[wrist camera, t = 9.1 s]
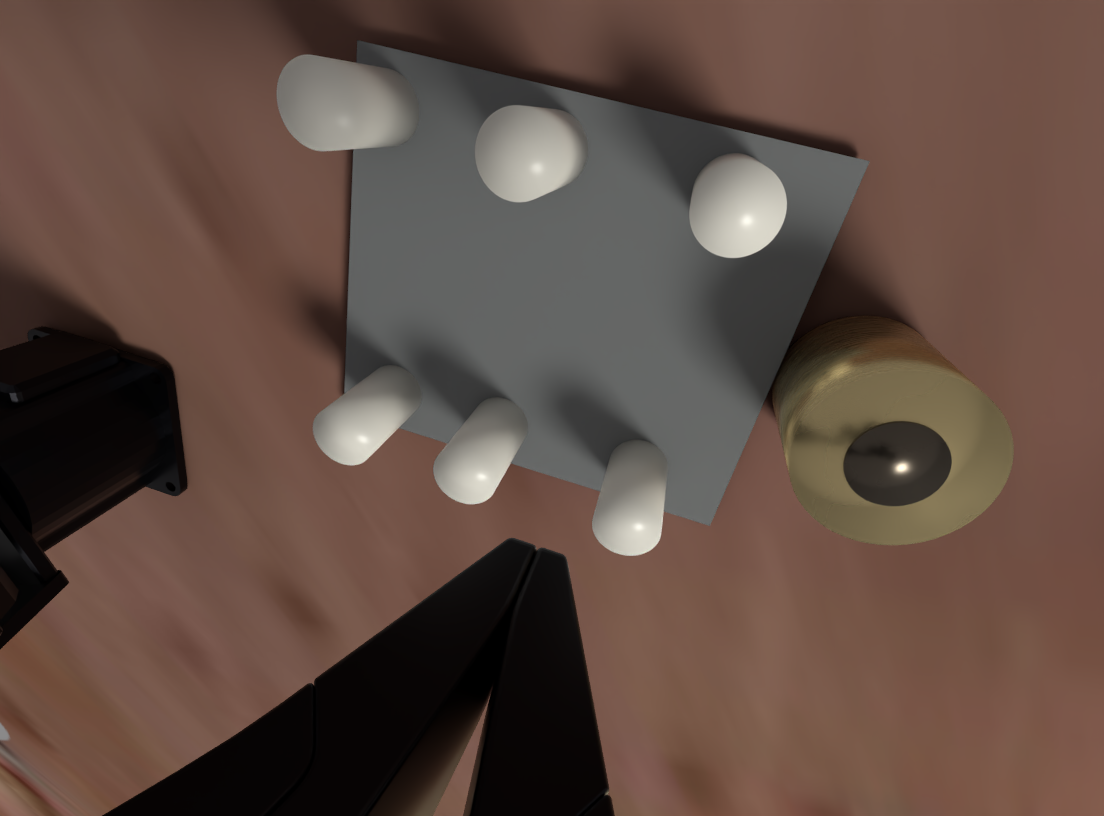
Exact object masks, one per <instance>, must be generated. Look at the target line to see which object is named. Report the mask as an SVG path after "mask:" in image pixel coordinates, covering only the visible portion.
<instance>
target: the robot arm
mask: <svg viewBox="0 0 1104 816" xmlns="http://www.w3.org/2000/svg"><path fill="white" fill-rule="evenodd" d="M28 340H29V341H28V342H25V343H22V344H19V345H16V346H13V347H10V348H6V349H3V350H0V649H1V648H2V647H3V646H4V645H5V644H6V643H7V642H8V641H9V640H10V639H11V638H12V637H14V636H15V635H16V634H17V633H18V632H19V631H20V630H21V629H22V628H23V627H24V626H25V625H26V624H27V623H28V622H29V621H30V620H31V619H32V618H33V617H34V616H35V615H36V614H37V613H38V612H39V611H40V610H42V609H43V608H44V607H45V606H46V605H47V604H48V603H49V602H50V601H51V600H52V599H53V598H54V597H55V596H56V595H57V594H58V593H59V592H60V591H61V590H62V589H63V588H64V587H65V586H66V585H67V584H68V583H69V581H68V580H67V578H66V577H65V575H64V574H63V573H62V571H61V570H56V568H55V567H54V565H53V564H52V563H51V561H50V560H49V558H48V557H47V556H46V554H45V553H44V552H45V551H46V550H48V549H49V548H51V547H52V546H54V545H56V544H57V543H59V542H60V541H62V540H63V539H65V538H66V537H68V536H69V535H71V534H73V533H74V532H76V531H77V530H79V529H80V528H82V527H83V526H85V525H86V524H88V523H90V522H91V521H93V520H94V519H96V518H97V517H99V516H100V515H102V514H103V513H105V512H107V511H108V510H110V509H111V508H113V507H114V506H116V505H117V504H119V503H120V502H122V501H123V500H125V499H127V498H128V497H130V496H131V495H133V494H134V493H136V492H137V491H139V490H140V489H142V488H144V487H145V486H146V487H149V488H151V489H154V490H157V491H160V492H163V493H166V494H169V495H172V496H178V495H180V494H181V493H182V492H184V491H185V490H186V489H187V477H186V469H185V461H184V453H183V445H182V437H181V429H180V420H179V412H178V404H177V396H176V388H175V380H174V375H173V373H172V371H171V370H170V369H169V368H168V367H167V366H166V365H164V364H162V363H158V362H155V361H152V360H149V359H146V358H143V357H139V356H136V355H133V354H130V353H127V352H124V351H121V350H117V349H114V348H113V347H110V346H107V345H104V344H101V343H98V342H95V341H91V340H88V339H85V338H82V337H79V336H76V335H72V334H69V333H66V332H63V331H57V330H54V329H51V328H48V327H43V326H41V327H38V328H34V329H31V330H29V332H28ZM490 694H491V695H490ZM489 697H490V699H489ZM488 699H489V703H488V707H487V712H486V716H485V720H484V724H483V728H482V733H481V737H480V742H479V746H478V751H477V755H476V760H475V764H474V769H473V773H472V778H471V782H470V787H469V792H468V796H467V801H466V805H465V810H464V814H463V816H615V815H614V810H613V804H612V799H611V797H610V796H609V795H607V794H608V792H609V784H608V779H607V774H606V768H605V763H604V757H603V752H602V747H601V741H600V736H599V730H598V725H597V720H596V714H595V709H594V703H593V698H592V692H591V687H590V682H589V676H588V671H587V665H586V660H585V655H584V649H583V644H582V638H581V633H580V627H579V622H578V617H577V611H576V606H575V600H574V595H573V590H572V584H571V579H570V573H569V568H568V563H567V559H566V557H565V556H564V555H563V554H560V553H557V552H554V551H551V550H548V549H545V548H539V549H538V550H536V547H535V545H533V544H530V543H527V542H524V541H521V540H518V539H515V538H509V539H507V540H506V541H504V542H503V543H501V544H500V545H499V546H497V547H496V548H494V549H493V550H492V551H490V552H489V553H488V554H486V555H485V556H483V557H482V558H481V559H479V560H478V561H477V562H475V563H474V564H472V565H471V566H470V567H468V568H467V569H466V570H464V571H463V572H461V573H460V574H459V575H457V576H456V577H455V578H453V579H452V580H450V581H449V582H448V583H446V584H445V585H444V586H442V587H441V588H439V589H438V590H437V591H435V592H434V593H433V594H431V595H430V596H428V597H427V598H426V599H424V600H423V601H422V602H420V603H419V604H417V605H416V606H415V607H413V608H412V609H411V610H409V611H408V612H406V613H405V614H404V615H402V616H401V617H400V618H398V619H397V620H395V621H394V622H393V623H391V624H390V625H389V626H387V627H386V628H384V629H383V630H382V631H380V632H379V633H378V634H376V635H375V636H373V637H372V638H371V639H369V640H368V641H367V642H365V643H364V644H362V645H361V646H360V647H358V648H357V649H356V650H354V651H353V652H351V653H350V654H349V655H347V656H346V657H345V658H343V659H342V660H340V661H339V662H338V663H336V664H335V665H334V666H332V667H331V668H329V669H328V670H327V671H325V672H324V673H322V674H321V675H320V676H318V677H317V678H316V679H315V681H314V685H313V684H312V683H309V684H307V685H305V686H304V687H303V688H301V689H300V690H299V691H297V692H296V693H295V694H293V695H292V696H290V697H289V698H288V699H286V700H285V701H284V702H282V703H281V704H280V705H278V706H277V707H275V708H274V709H272V710H271V711H269V712H268V713H266V714H265V715H264V716H262V717H261V718H259V719H258V720H256V721H255V722H253V723H252V724H250V725H249V726H248V727H246V728H245V729H243V730H242V731H240V732H239V733H237V734H236V735H234V736H233V737H231V738H230V739H228V740H227V741H225V742H223V743H222V744H220V745H219V746H217V747H215V748H214V749H212V750H210V751H209V752H207V753H206V754H204V755H202V756H201V757H199V758H198V759H196V760H194V761H193V762H191V763H189V764H188V765H186V766H185V767H183V768H181V769H180V770H178V771H177V772H175V773H173V774H172V775H170V776H168V777H166V778H165V779H163V780H161V781H160V782H158V783H156V784H155V785H153V786H151V787H150V788H148V789H146V790H145V791H143V792H141V793H140V794H138V795H136V796H134V797H133V798H131V799H129V800H128V801H126V802H124V803H123V804H121V805H119V806H118V807H116V808H114V809H113V810H111V811H109V812H108V813H106V814H104V815H102V816H433V814H434V812H435V810H436V808H437V806H438V804H439V802H440V800H441V798H442V796H443V794H444V792H445V790H446V787H447V785H448V783H449V781H450V779H451V777H452V775H453V773H454V771H455V769H456V767H457V765H458V763H459V761H460V759H461V757H462V755H463V753H464V751H465V748H466V746H467V744H468V742H469V740H470V738H471V736H472V734H473V732H474V730H475V728H476V726H477V724H478V722H479V720H480V717H481V715H482V713H483V711H484V709H485V706H486V704H487V702H488Z"/></svg>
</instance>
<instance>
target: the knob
mask: <svg viewBox="0 0 1104 816" xmlns="http://www.w3.org/2000/svg"><path fill="white" fill-rule="evenodd" d="M772 402H773V408H774V412H775V416H776V420H777V425H778V429H779V433H780V438H781V442H782V446H783V450H784V455H785V459H786V463H787V467H788V472H789V476H790V480H791V483H792V487H793V490H794V492H795V494H796V496H797V498H798V500H799V501H800V503H801V504H802V506H803V507H804V508H805V510H806V511H807V512H808V513H809V514H810V515H811V516H812V517H813V518H814V519H815V520H817V521H818V522H819V523H820V524H822V525H823V526H825V527H826V528H828V529H830V530H831V531H833V532H835V533H837V534H840V535H842V536H844V537H847V538H850V539H853V540H856V541H861V542H865V543H871V544H879V545H904V544H913V543H919V542H924V541H928V540H932V539H935V538H938V537H941V536H944V535H946V534H949V533H951V532H953V531H955V530H957V529H959V528H961V527H963V526H965V525H966V524H968V523H969V522H971V521H972V520H974V519H975V518H976V517H978V516H979V515H980V514H981V513H983V512H984V511H985V510H986V509H987V508H988V507H989V506H990V505H991V504H992V503H993V502H994V500H995V499H996V498H997V496H998V495H999V494H1000V492H1001V491H1002V489H1003V487H1004V485H1005V483H1006V481H1007V479H1008V477H1009V474H1010V471H1011V468H1012V462H1013V439H1012V434H1011V431H1010V428H1009V425H1008V423H1007V421H1006V419H1005V417H1004V416H1003V414H1002V412H1001V411H1000V409H999V408H998V407H997V406H996V405H995V404H994V402H993V401H992V400H991V399H990V398H989V397H987V396H986V395H985V394H984V393H983V392H982V391H981V390H980V389H979V388H978V387H977V386H976V385H974V384H973V383H972V382H971V381H970V380H969V379H968V378H967V377H966V376H965V375H964V374H963V373H961V372H960V371H959V370H958V369H957V368H956V367H955V366H954V365H953V364H952V363H951V362H950V361H948V360H947V359H946V358H945V357H944V356H943V355H942V354H941V353H940V352H939V351H938V350H937V349H935V348H934V347H933V346H932V345H931V344H930V343H929V342H928V341H927V340H926V339H925V338H924V337H922V336H921V335H920V334H919V333H918V332H916V331H915V330H913V329H912V328H910V327H909V326H907V325H905V324H903V323H900V322H898V321H895V320H892V319H889V318H884V317H878V316H864V315H863V316H851V317H845V318H840V319H837V320H834V321H830V322H828V323H825V324H823V325H821V326H818V327H817V328H815V329H813V330H811V331H810V332H808V333H807V334H805V335H804V336H803V337H801V338H800V339H799V340H798V341H797V342H796V343H795V344H794V345H792V346H791V348H790V349H789V350H788V351H787V353H786V354H785V355H784V358H783V360H782V362H781V364H780V367H779V369H778V371H777V374H776V376H775V378H774V380H773V385H772Z"/></svg>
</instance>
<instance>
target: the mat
mask: <svg viewBox="0 0 1104 816" xmlns="http://www.w3.org/2000/svg"><path fill="white" fill-rule="evenodd" d="M356 63H360V64H366V65H372V66H377V67H383V68H388V69H392V70H395V71H397V72H398V73H400V74H401V75H403V76H404V77H405V78H406V79H407V80H408V81H409V83H410V84H411V86H412V87H413V89H414V91H415V93H416V96H417V99H418V104H419V121H418V125H417V128H416V130H415V132H414V134H413V135H412V137H411V138H410V139H409V140H408V141H406V142H405V143H403V144H401V145H398V146H392V147H378V148H364V149H353V170H352V198H351V225H350V253H349V280H348V307H347V335H346V362H345V389H344V394H345V393H346V392H348V391H349V390H350V389H352V388H353V387H354V386H356V385H357V384H358V383H360V382H361V381H362V380H364V379H365V378H366V377H368V376H369V375H370V374H372V373H373V372H374V371H376V370H377V369H378V368H380V367H382V366H386V365H395V366H399V367H401V368H403V369H405V370H407V371H408V372H409V373H411V374H412V375H413V376H414V378H415V379H416V380H417V382H418V384H419V386H420V389H421V394H422V399H421V403H420V406H419V408H418V409H417V410H416V411H415V412H414V413H413V414H412V415H411V416H410V417H409V418H408V419H407V420H406V421H405V422H404V423H403V424H402V425H401V426H400V427H399V428H400V429H403V430H407V431H410V432H413V433H416V434H419V435H423V436H426V437H429V438H432V439H435V440H438V441H442V442H445V443H449V441H450V440H451V439H452V438H453V436H454V435H455V434H456V433H457V431H458V430H459V429H460V428H461V426H462V425H463V424H464V423H465V421H466V420H467V419H468V418H469V416H470V415H471V414H472V413H473V411H474V410H475V409H476V408H477V406H478V405H479V404H480V403H481V402H483V401H484V400H486V399H489V398H494V397H499V398H505V399H508V400H510V401H512V402H514V403H515V404H516V405H518V406H519V407H520V408H521V410H522V411H523V412H524V414H525V416H526V418H527V422H528V432H527V435H526V437H525V439H524V441H523V442H522V444H521V446H520V448H519V449H518V451H517V453H516V455H515V456H514V458H513V460H512V462H511V463H512V464H515V465H518V466H521V467H524V468H528V469H531V470H534V471H537V472H540V473H543V474H547V475H550V476H553V477H556V478H559V479H563V480H566V481H569V482H572V483H575V484H578V485H582V486H585V487H588V488H591V489H594V490H597V491H601V488H602V484H603V480H604V477H605V473H606V470H607V466H608V463H609V459H610V456H611V453H612V452H613V450H614V449H615V448H616V447H617V446H618V445H620V444H621V443H623V442H626V441H630V440H643V441H647V442H650V443H652V444H654V445H655V446H657V447H658V448H659V449H660V450H661V451H662V452H663V453H664V455H665V457H666V459H667V462H668V473H667V482H666V492H665V502H664V512H667V513H671V514H674V515H677V516H680V517H683V518H687V519H690V520H693V521H696V522H699V523H702V524H706V525H709V526H710V524H711V522H712V519H713V517H714V515H715V513H716V510H717V508H718V506H719V503H720V501H721V499H722V497H723V494H724V492H725V490H726V488H727V485H728V483H729V481H730V478H731V476H732V474H733V472H734V469H735V467H736V465H737V462H738V460H739V458H740V456H741V453H742V451H743V449H744V447H745V444H746V442H747V440H748V437H749V435H750V433H751V431H752V428H753V426H754V424H755V421H756V419H757V417H758V415H759V412H760V410H761V408H762V405H763V403H764V401H765V399H766V396H767V394H768V392H769V390H770V387H771V385H772V383H773V380H774V378H775V376H776V374H777V371H778V369H779V367H780V364H781V362H782V360H783V358H784V355H785V353H786V351H787V349H788V346H789V344H790V342H791V339H792V337H793V335H794V333H795V330H796V328H797V326H798V323H799V321H800V319H801V317H802V314H803V312H804V310H805V307H806V305H807V303H808V301H809V298H810V296H811V294H812V292H813V289H814V287H815V285H816V282H817V280H818V278H819V276H820V273H821V271H822V269H823V266H824V264H825V262H826V260H827V257H828V255H829V253H830V251H831V248H832V246H833V244H834V241H835V239H836V237H837V235H838V232H839V230H840V228H841V225H842V223H843V221H844V219H845V216H846V214H847V212H848V209H849V207H850V205H851V203H852V200H853V198H854V196H855V194H856V191H857V189H858V187H859V184H860V182H861V180H862V178H863V175H864V173H865V171H866V168H867V166H868V164H869V162H870V161H866V160H862V159H858V158H854V157H849V156H845V155H841V154H837V153H832V152H828V151H824V150H820V149H816V148H811V147H807V146H803V145H799V144H794V143H790V142H786V141H782V140H777V139H773V138H769V137H765V136H761V135H756V134H752V133H748V132H744V131H739V130H735V129H731V128H727V127H723V126H718V125H714V124H710V123H706V122H701V121H697V120H693V119H689V118H684V117H680V116H676V115H672V114H668V113H663V112H659V111H655V110H651V109H646V108H642V107H638V106H634V105H630V104H625V103H621V102H617V101H613V100H608V99H604V98H600V97H596V96H591V95H587V94H583V93H579V92H575V91H570V90H566V89H562V88H558V87H553V86H549V85H545V84H541V83H537V82H532V81H528V80H524V79H520V78H515V77H511V76H507V75H503V74H498V73H494V72H490V71H486V70H482V69H477V68H473V67H469V66H465V65H460V64H456V63H452V62H448V61H443V60H439V59H435V58H431V57H427V56H422V55H418V54H414V53H410V52H405V51H401V50H397V49H393V48H389V47H384V46H380V45H376V44H372V43H367V42H363V41H359V40H357V61H356ZM511 105H522V106H531V107H541V108H550V109H558V110H562V111H565V112H567V113H569V114H571V115H572V116H574V117H575V118H576V119H577V120H578V121H579V123H580V124H581V125H582V127H583V129H584V131H585V133H586V136H587V141H588V157H587V161H586V164H585V166H584V169H583V170H582V172H581V173H580V175H579V176H578V177H577V178H576V179H575V180H574V181H573V182H571V183H570V184H568V185H566V186H563V187H561V188H559V189H557V190H554V191H552V192H550V193H547V194H545V195H543V196H541V197H538V198H536V199H534V200H531V201H527V202H511V201H508V200H505V199H503V198H501V197H499V196H497V195H496V194H494V193H493V192H492V191H491V190H490V189H489V188H488V187H487V186H486V184H485V183H484V181H483V180H482V178H481V176H480V174H479V171H478V169H477V165H476V160H475V144H476V139H477V136H478V133H479V130H480V128H481V126H482V125H483V123H484V122H485V120H486V119H487V118H488V117H489V116H490V115H491V114H492V113H494V112H495V111H497V110H499V109H501V108H503V107H506V106H511ZM730 153H741V154H745V155H748V156H750V157H753V158H754V159H756V160H757V161H759V162H760V163H762V164H763V165H765V166H766V167H768V168H769V169H771V170H772V171H773V172H774V173H775V174H776V175H777V176H778V178H779V179H780V181H781V182H782V184H783V187H784V189H785V193H786V198H787V210H786V216H785V219H784V222H783V224H782V227H781V229H780V230H779V232H778V234H777V235H776V236H775V237H774V239H773V240H772V241H771V242H770V243H769V244H768V245H766V246H765V247H764V248H763V249H761V250H759V251H758V252H756V253H753V254H751V255H748V256H745V257H740V258H726V257H721V256H718V255H715V254H713V253H711V252H709V251H708V250H706V249H705V248H704V247H703V246H702V245H701V244H700V243H699V242H698V241H697V239H696V237H695V236H694V234H693V231H692V229H691V225H690V219H689V210H690V202H691V196H692V190H693V186H694V183H695V180H696V178H697V176H698V174H699V173H700V172H701V170H702V169H703V168H704V167H705V166H706V165H707V164H708V163H709V162H710V161H712V160H713V159H715V158H717V157H719V156H722V155H725V154H730Z"/></svg>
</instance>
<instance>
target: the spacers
mask: <svg viewBox="0 0 1104 816" xmlns="http://www.w3.org/2000/svg"><path fill="white" fill-rule="evenodd" d="M277 103H278V108H279V112H280V115H281V118H282V120H283V122H284V124H285V126H286V127H287V129H288V131H289V132H290V133H291V134H292V136H293V137H294V138H295V139H296V140H297V141H299V142H300V143H301V144H303V145H304V146H306V147H308V148H310V149H313V150H317V151H335V150H349V149H364V148H378V147H392V146H398V145H401V144H403V143H405V142H406V141H408V140H409V139H410V138H411V137H412V135H413V134H414V132H415V130H416V128H417V125H418V121H419V104H418V99H417V96H416V93H415V91H414V89H413V87H412V86H411V84H410V83H409V81H408V80H407V79H406V78H405V77H404V76H403V75H401V74H400V73H398V72H397V71H395V70H392V69H388V68H383V67H377V66H372V65H366V64H360V63H355V62H349V61H344V60H338V59H333V58H327V57H321V56H316V55H301V56H298V57H295V58H294V59H292V60H291V61H289V62H288V63H287V64H286V66H285V67H284V68H283V70H282V72H281V74H280V76H279V80H278V84H277ZM587 157H588V141H587V136H586V133H585V131H584V129H583V127H582V125H581V124H580V123H579V121H578V120H577V119H576V118H575V117H574V116H572V115H571V114H569V113H567V112H565V111H562V110H558V109H550V108H541V107H531V106H522V105H511V106H506V107H503V108H501V109H499V110H497V111H495V112H494V113H492V114H491V115H490V116H489V117H488V118H487V119H486V120H485V122H484V123H483V125H482V126H481V128H480V130H479V133H478V136H477V139H476V144H475V160H476V165H477V169H478V171H479V174H480V176H481V178H482V180H483V181H484V183H485V184H486V186H487V187H488V188H489V189H490V190H491V191H492V192H493V193H494V194H496V195H497V196H499V197H501V198H503V199H505V200H508V201H511V202H527V201H531V200H534V199H536V198H538V197H541V196H543V195H545V194H547V193H550V192H552V191H554V190H557V189H559V188H561V187H563V186H566V185H568V184H570V183H571V182H573V181H574V180H575V179H576V178H577V177H578V176H579V175H580V173H581V172H582V170H583V169H584V166H585V164H586V161H587ZM786 210H787V198H786V193H785V189H784V187H783V184H782V182H781V181H780V179H779V178H778V176H777V175H776V174H775V173H774V172H773V171H772V170H771V169H769V168H768V167H766V166H765V165H763V164H762V163H760V162H759V161H757V160H756V159H754V158H753V157H750V156H748V155H745V154H741V153H730V154H725V155H722V156H719V157H717V158H715V159H713V160H712V161H710V162H709V163H708V164H707V165H706V166H705V167H704V168H703V169H702V170H701V172H700V173H699V174H698V176H697V178H696V180H695V183H694V186H693V190H692V196H691V202H690V210H689V219H690V225H691V229H692V231H693V234H694V236H695V237H696V239H697V241H698V242H699V243H700V244H701V245H702V246H703V247H704V248H705V249H706V250H708V251H709V252H711V253H713V254H715V255H718V256H721V257H726V258H740V257H745V256H748V255H751V254H753V253H756V252H758V251H759V250H761V249H763V248H764V247H765V246H766V245H768V244H769V243H770V242H771V241H772V240H773V239H774V237H775V236H776V235H777V234H778V232H779V230H780V229H781V227H782V224H783V222H784V219H785V216H786ZM421 399H422V394H421V389H420V386H419V384H418V382H417V380H416V379H415V378H414V376H413V375H412V374H411V373H409V372H408V371H407V370H405V369H403V368H401V367H399V366H395V365H386V366H382V367H380V368H378V369H377V370H376V371H374V372H373V373H372V374H370V375H369V376H368V377H366V378H365V379H364V380H362V381H361V382H360V383H358V384H357V385H356V386H354V387H353V388H352V389H350V390H349V391H348V392H346V393H345V394H344V395H342V396H341V397H340V398H338V399H337V400H336V401H334V402H333V403H332V404H330V405H329V406H328V407H326V408H325V409H324V410H322V411H321V412H320V413H318V415H317V416H316V417H315V420H314V423H313V433H314V437H315V440H316V442H317V444H318V446H319V447H320V448H321V450H322V451H323V452H324V453H325V454H326V455H327V456H328V457H330V458H331V459H333V460H334V461H336V462H339V463H341V464H345V465H358V464H361V463H363V462H364V461H366V460H367V459H368V458H369V457H370V456H371V455H372V454H373V453H374V452H375V451H376V450H377V449H378V448H379V447H380V446H381V445H382V444H383V443H384V442H385V441H386V440H387V439H388V438H389V437H390V436H391V435H392V434H393V433H394V432H395V431H396V430H397V429H398V428H399V427H400V426H401V425H402V424H403V423H404V422H405V421H406V420H407V419H408V418H409V417H410V416H411V415H412V414H413V413H414V412H415V411H416V410H417V409H418V408H419V406H420V403H421ZM527 432H528V422H527V418H526V416H525V414H524V412H523V411H522V410H521V408H520V407H519V406H518V405H516V404H515V403H514V402H512V401H510V400H508V399H505V398H499V397H494V398H489V399H486V400H484V401H483V402H481V403H480V404H479V405H478V406H477V408H476V409H475V410H474V411H473V413H472V414H471V415H470V416H469V418H468V419H467V420H466V421H465V423H464V424H463V425H462V426H461V428H460V429H459V430H458V431H457V433H456V434H455V435H454V436H453V438H452V439H451V440H450V441H449V443H448V444H447V445H446V446H445V448H444V449H443V450H442V451H441V453H440V454H439V455H438V456H437V458H436V460H435V462H434V466H433V472H434V477H435V480H436V482H437V484H438V486H439V487H440V488H441V490H442V491H443V492H444V493H445V494H446V495H448V496H449V497H450V498H452V499H454V500H456V501H458V502H461V503H465V504H478V503H482V502H484V501H486V500H487V499H489V498H490V497H491V496H492V495H493V493H494V491H495V490H496V488H497V486H498V484H499V483H500V481H501V479H502V477H503V476H504V474H505V472H506V470H507V469H508V467H509V465H510V463H511V462H512V460H513V458H514V456H515V455H516V453H517V451H518V449H519V448H520V446H521V444H522V442H523V441H524V439H525V437H526V435H527ZM667 473H668V462H667V459H666V457H665V455H664V453H663V452H662V451H661V450H660V449H659V448H658V447H657V446H655V445H654V444H652V443H650V442H647V441H643V440H630V441H626V442H623V443H621V444H620V445H618V446H617V447H616V448H615V449H614V450H613V452H612V453H611V456H610V459H609V463H608V466H607V470H606V473H605V477H604V480H603V484H602V488H601V491H600V495H599V498H598V502H597V505H596V509H595V512H594V516H593V520H592V528H593V532H594V534H595V536H596V538H597V539H598V541H599V542H600V543H601V544H602V545H603V546H604V547H606V548H607V549H609V550H611V551H612V552H615V553H618V554H621V555H628V556H634V555H640V554H644V553H646V552H648V551H650V550H651V549H653V548H654V547H655V546H656V545H657V543H658V542H659V540H660V537H661V531H662V521H663V511H664V502H665V492H666V482H667Z"/></svg>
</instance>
